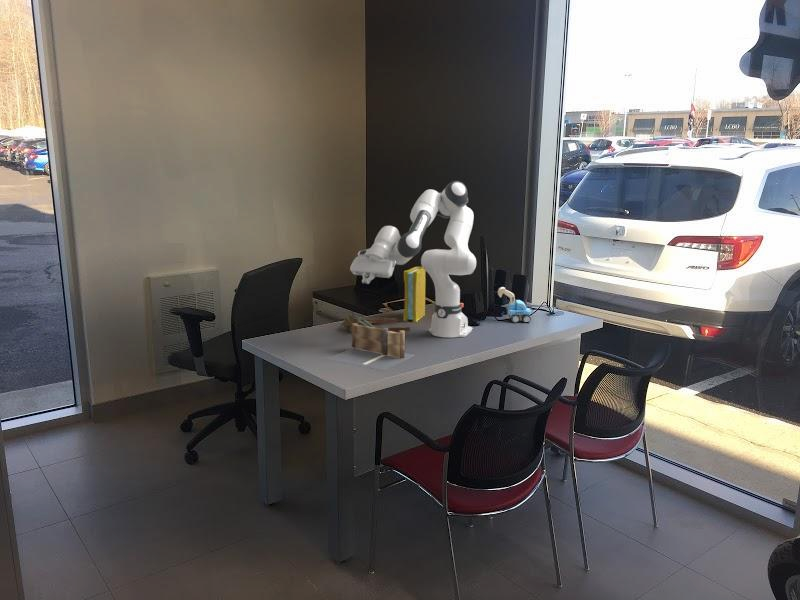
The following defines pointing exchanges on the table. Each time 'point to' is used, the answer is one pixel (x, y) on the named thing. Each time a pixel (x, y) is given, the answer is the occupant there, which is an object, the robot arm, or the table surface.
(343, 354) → the board
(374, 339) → the fence leaf
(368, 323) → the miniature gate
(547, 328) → the table surface
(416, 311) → the book
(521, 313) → the toy excavator
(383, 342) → the fixed fence
